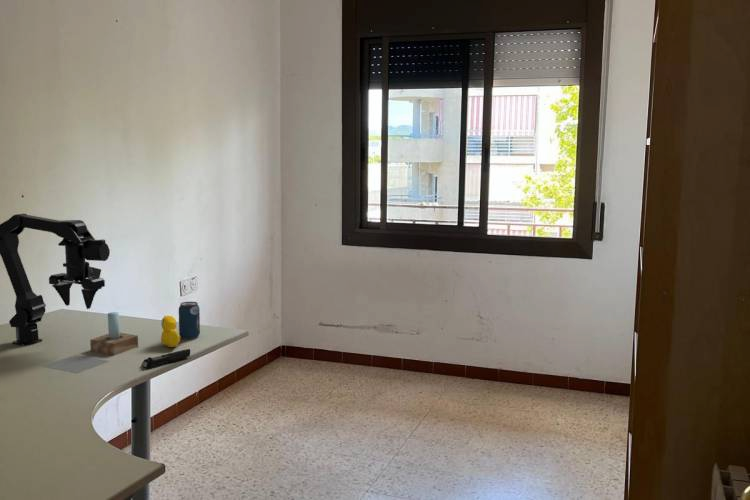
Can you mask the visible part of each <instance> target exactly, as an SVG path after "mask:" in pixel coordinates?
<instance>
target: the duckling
mask: <svg viewBox="0 0 750 500" xmlns="http://www.w3.org/2000/svg"><path fill="white" fill-rule="evenodd" d="M176 327H177V320H176V318H175V317H174V316H173V315H164V316H163V318H162V319H161V329H162V330H163V331H162V333H161V336H160V342H161V344H162V345H163V346H166V347H168V348H174V347H177V346H178V345H179V343H180V341H181V336H180V335H179V332H178V330H176Z"/></svg>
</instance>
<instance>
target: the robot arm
mask: <svg viewBox="0 0 750 500" xmlns="http://www.w3.org/2000/svg"><path fill="white" fill-rule="evenodd" d="M26 228H27V229H31V230H37V231H41V232H47V233H52V234H54V235H56V236H57V237H59V238H62V239H61V241H59V243H58V244H57V245H58V246H60V247H64V250H65V251H64V254H65V262H64V263H62V267H65V271H66V272H61V273H55V274H51V275H50V276H49V277H48V284H49V285H51V287H53V288H54V290H55V291H56V292H57V293H58V295H59V297H60V298H61V300H62V302H63V304H64V305H65V306H66V307H68V306H70V304H71V288H72V286H73V284H75V285H81V288H82V289H81V294H82V298H83V301H84V304H85V308H86V310H89V309H91V308H92V304H93V302H94V298H95V296H96V293H97V292H98V291H99V290H101V289H102V288H104V287H106V282H105V279H104V278H103V277H101V274H102V273H101V272H102V269H101V268H97V267H93V266H90V263H89V261H93V262H94V261H98V262H106V261H108V259H109V257H110V252H111V250H110V248H109V245H108V244H107V243H106V239H104V238H103V239H95V237H94V235H92V233H91V232H90V230H89V228H88V227H87V225H86V223H85V222H84V221H83V220H81V219H68V220H67V219H65V220H61V219H60V220H58V219H53V218H47V217H42V216H36V215H31V214H27V213H16V214H13V215H12V216H11V217H9V219H7V220H5V221H3V222H2V223H0V257H1V260H2V262H3V264H4V268H5V269H6V273H7V275H8V277H9V281H10V283H11V286H12V289H13V291H14V294H15V303H14V309H15V314H14V315H13V316H12V318H10V319H9V321H8V322H9V325H10V327H11V328H15V338H16V340H14V341H12V342H11V343H12V344H15V345H20V346H29V345H33V344H37V343H39V342H42V341H43V338H39V329H38V324H37V323H39V322H42V319H43V316H44V314H45V313H46V307H47V304H46V303H45V301H44V298H43V295H42V294H39V295H37V293H35V292H34V291H33V289H32V286H31V284H30V280H29V278H28V275H27V273H26V269H25V267H24V265H23V262H22V259H21V255H20V253H19V250H18V249H19V245H20V241H19V240H20V239H19V235H20V234H22V232H24V230H25V229H26Z"/></svg>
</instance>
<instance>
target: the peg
mask: <svg viewBox="0 0 750 500" xmlns="http://www.w3.org/2000/svg"><path fill="white" fill-rule="evenodd" d="M107 322H108V323H107V325H108V329H107V330H108V334H109V339H111V340H116V339H119V338H120V334H119V333H120V316H119V312H117V311H112V312H108V313H107Z"/></svg>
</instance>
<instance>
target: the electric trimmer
mask: <svg viewBox="0 0 750 500" xmlns="http://www.w3.org/2000/svg"><path fill="white" fill-rule="evenodd" d="M190 355H191V349H190V348H188V349H187V348H186V349H183V350H179V351H174V352H170V353H167V354H162V355H159V356H154V357H147V358H144V360H143V361H142V363H141V367H142V368H143V369H144V370H150V369H151V368H153V367H156V366H160V365H164V364H167V363H170V364H171V363H175V362H178V361H180V360H184V359H186V358H188V357H190Z"/></svg>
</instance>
